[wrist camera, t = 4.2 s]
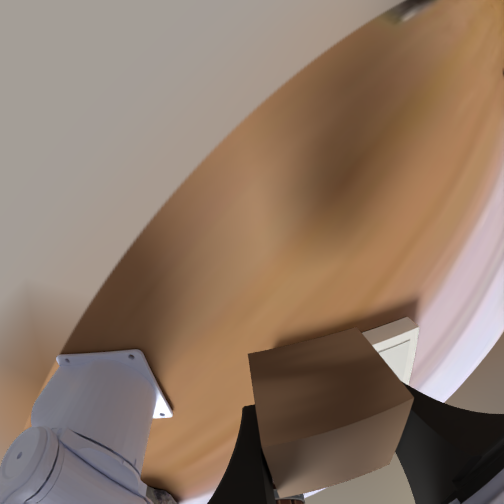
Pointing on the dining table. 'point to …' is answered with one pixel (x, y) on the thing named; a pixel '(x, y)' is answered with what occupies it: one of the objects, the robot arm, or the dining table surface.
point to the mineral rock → (159, 496)
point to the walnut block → (326, 411)
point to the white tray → (396, 345)
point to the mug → (288, 498)
